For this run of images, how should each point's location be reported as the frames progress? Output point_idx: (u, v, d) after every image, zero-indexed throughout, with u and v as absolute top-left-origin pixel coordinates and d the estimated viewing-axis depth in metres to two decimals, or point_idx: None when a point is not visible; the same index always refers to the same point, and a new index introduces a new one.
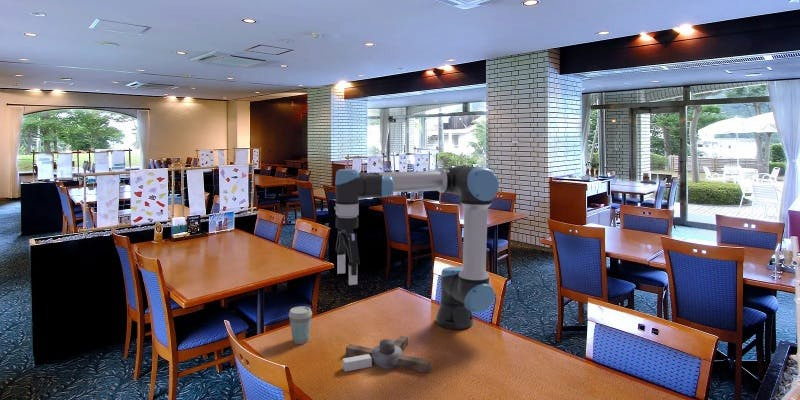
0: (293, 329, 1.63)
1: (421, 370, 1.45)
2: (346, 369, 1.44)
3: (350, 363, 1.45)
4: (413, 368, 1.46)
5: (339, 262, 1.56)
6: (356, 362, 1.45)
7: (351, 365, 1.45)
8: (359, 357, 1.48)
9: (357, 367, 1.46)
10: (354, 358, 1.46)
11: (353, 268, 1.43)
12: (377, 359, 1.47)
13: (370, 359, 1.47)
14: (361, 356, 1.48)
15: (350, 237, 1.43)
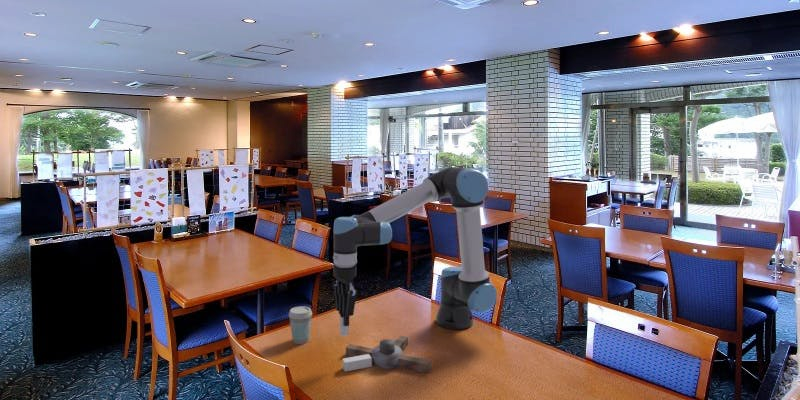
0: (293, 329, 1.63)
1: (421, 370, 1.45)
2: (346, 369, 1.44)
3: (350, 363, 1.45)
4: (413, 368, 1.46)
5: None
6: (356, 362, 1.45)
7: (351, 365, 1.45)
8: (359, 357, 1.48)
9: (357, 367, 1.46)
10: (354, 358, 1.46)
11: (346, 319, 1.47)
12: (377, 359, 1.47)
13: (370, 359, 1.47)
14: (361, 356, 1.48)
15: (351, 294, 1.42)
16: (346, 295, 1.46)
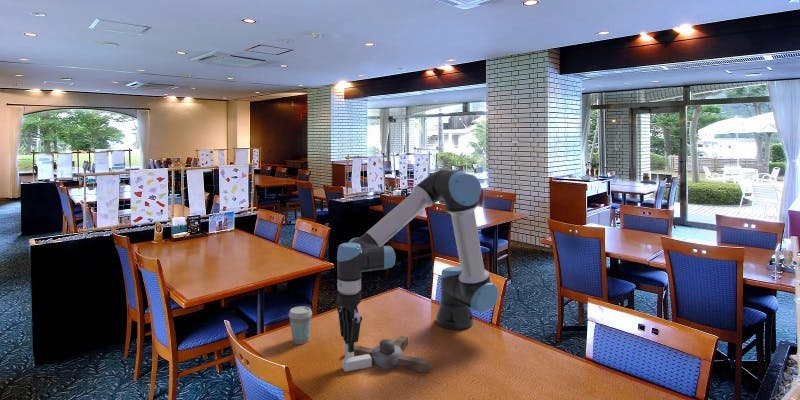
0: (293, 329, 1.63)
1: (421, 370, 1.45)
2: (346, 369, 1.44)
3: (350, 363, 1.45)
4: (413, 368, 1.46)
5: None
6: (356, 362, 1.45)
7: (351, 365, 1.45)
8: (359, 357, 1.47)
9: (357, 367, 1.46)
10: (354, 358, 1.46)
11: (351, 346, 1.46)
12: (377, 359, 1.47)
13: (370, 359, 1.47)
14: (361, 356, 1.48)
15: (355, 322, 1.41)
16: (350, 322, 1.45)
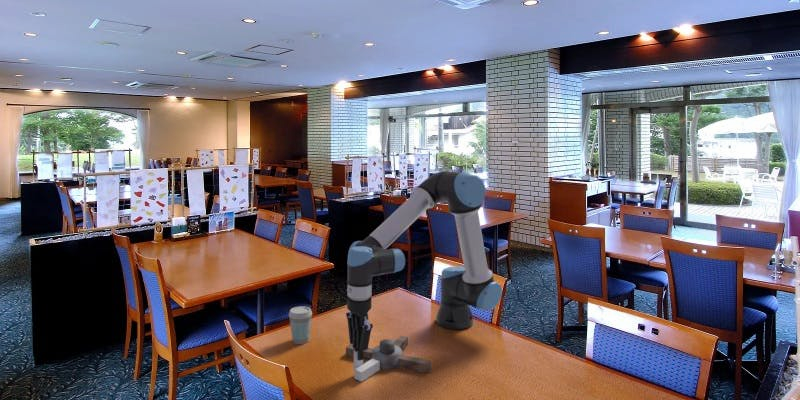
0: (293, 329, 1.63)
1: (421, 370, 1.45)
2: (362, 379, 1.39)
3: (365, 371, 1.40)
4: (413, 368, 1.46)
5: None
6: (369, 369, 1.41)
7: (366, 373, 1.40)
8: (368, 363, 1.43)
9: (370, 374, 1.42)
10: (365, 366, 1.42)
11: (360, 353, 1.41)
12: (377, 359, 1.47)
13: (378, 362, 1.45)
14: (368, 362, 1.44)
15: (366, 329, 1.36)
16: (360, 329, 1.39)
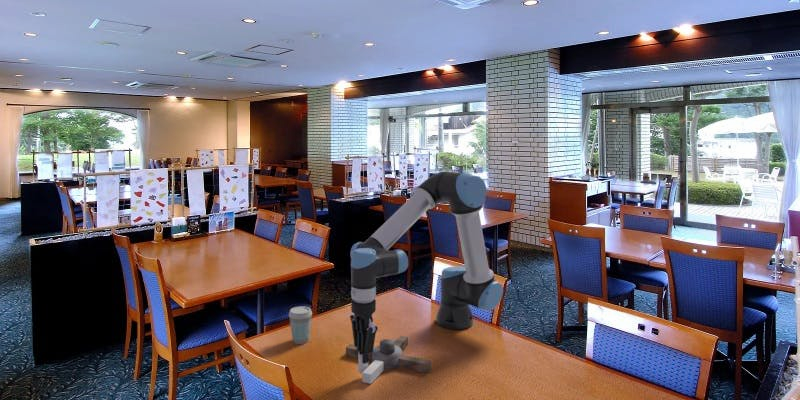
0: (293, 329, 1.63)
1: (421, 370, 1.45)
2: (371, 381, 1.37)
3: (373, 373, 1.38)
4: (413, 368, 1.46)
5: None
6: (376, 370, 1.40)
7: (374, 375, 1.39)
8: (373, 365, 1.42)
9: (376, 375, 1.41)
10: (371, 368, 1.40)
11: (365, 356, 1.39)
12: (377, 359, 1.47)
13: (383, 363, 1.45)
14: (373, 364, 1.43)
15: (370, 331, 1.34)
16: (365, 331, 1.38)
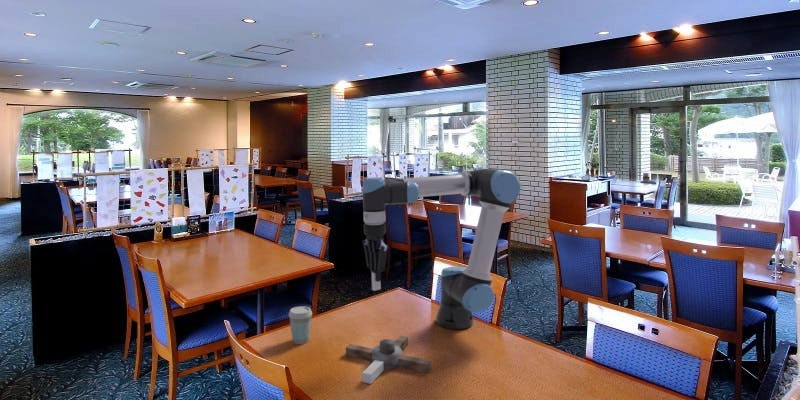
0: (293, 329, 1.63)
1: (421, 370, 1.45)
2: (371, 381, 1.37)
3: (373, 373, 1.38)
4: (413, 368, 1.46)
5: None
6: (376, 370, 1.40)
7: (374, 375, 1.39)
8: (373, 365, 1.42)
9: (377, 375, 1.41)
10: (371, 368, 1.40)
11: (378, 275, 1.55)
12: (377, 359, 1.47)
13: (383, 363, 1.45)
14: (373, 364, 1.43)
15: (383, 249, 1.50)
16: (377, 252, 1.54)
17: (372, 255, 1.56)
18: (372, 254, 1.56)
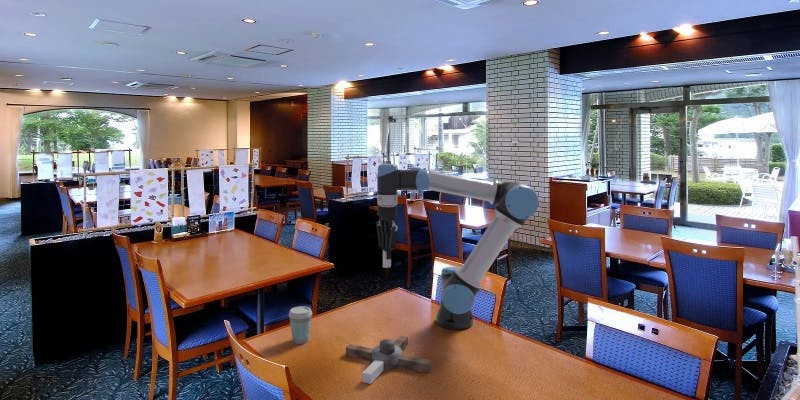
0: (293, 329, 1.63)
1: (421, 370, 1.45)
2: (371, 381, 1.37)
3: (373, 373, 1.38)
4: (413, 368, 1.46)
5: None
6: (376, 370, 1.40)
7: (374, 375, 1.39)
8: (373, 365, 1.42)
9: (377, 375, 1.41)
10: (371, 368, 1.40)
11: (389, 253, 1.69)
12: (377, 359, 1.47)
13: (383, 363, 1.45)
14: (373, 364, 1.43)
15: (394, 229, 1.64)
16: (389, 232, 1.68)
17: (384, 235, 1.70)
18: (384, 234, 1.70)
